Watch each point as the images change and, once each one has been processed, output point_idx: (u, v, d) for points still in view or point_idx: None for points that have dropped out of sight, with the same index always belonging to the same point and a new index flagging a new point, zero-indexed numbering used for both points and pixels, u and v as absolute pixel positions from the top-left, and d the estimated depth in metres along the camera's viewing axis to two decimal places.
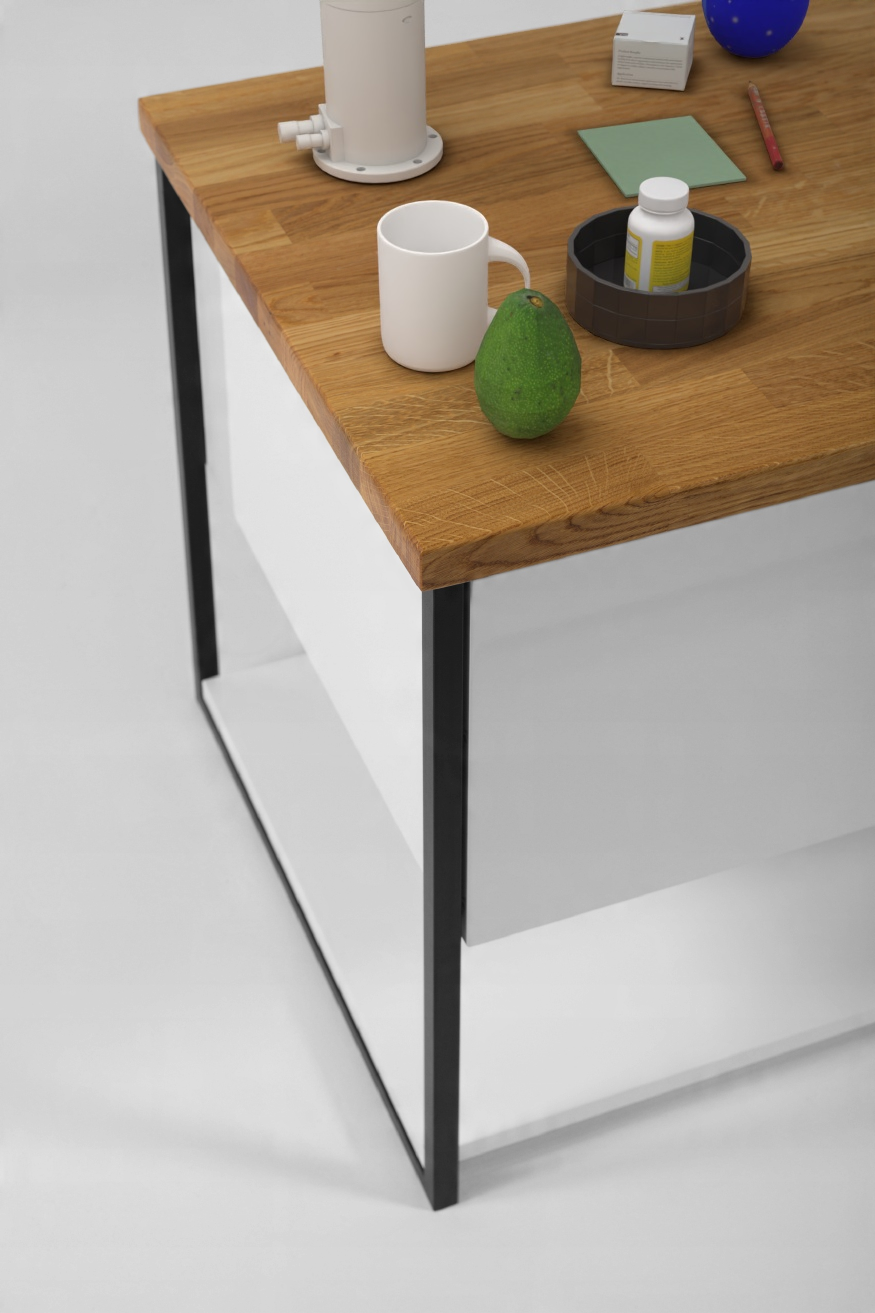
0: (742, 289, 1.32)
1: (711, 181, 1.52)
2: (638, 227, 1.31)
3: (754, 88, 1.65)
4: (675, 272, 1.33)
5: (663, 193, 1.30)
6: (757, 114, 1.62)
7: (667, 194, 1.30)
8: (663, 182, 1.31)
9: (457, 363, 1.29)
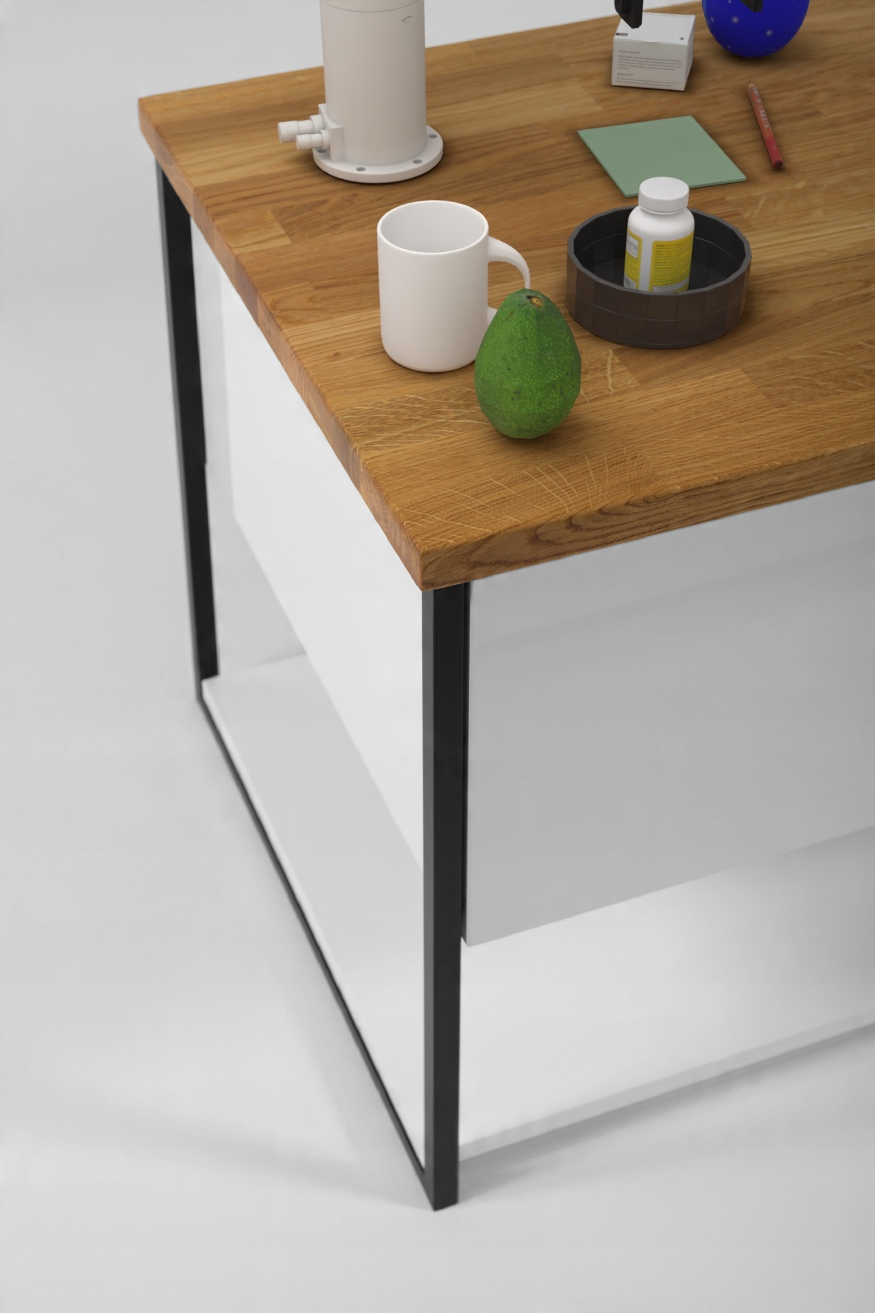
0: (742, 289, 1.32)
1: (711, 181, 1.52)
2: (638, 227, 1.31)
3: (754, 88, 1.65)
4: (675, 272, 1.33)
5: (663, 193, 1.30)
6: (757, 114, 1.62)
7: (667, 194, 1.30)
8: (663, 182, 1.31)
9: (457, 363, 1.29)
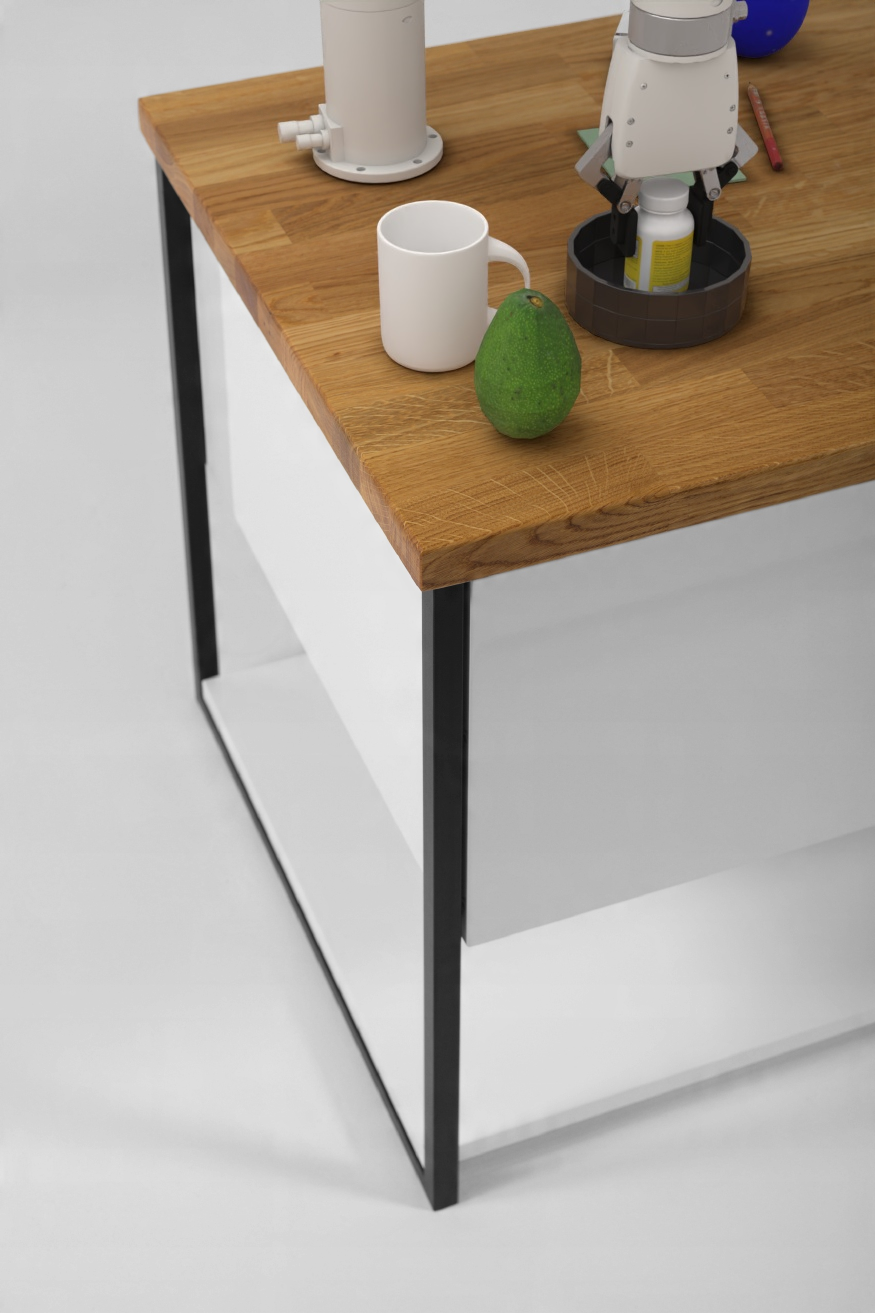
0: (742, 289, 1.32)
1: None
2: (638, 227, 1.31)
3: (754, 89, 1.65)
4: (675, 272, 1.33)
5: (663, 193, 1.30)
6: (757, 115, 1.62)
7: (667, 194, 1.30)
8: (663, 182, 1.31)
9: (457, 363, 1.29)
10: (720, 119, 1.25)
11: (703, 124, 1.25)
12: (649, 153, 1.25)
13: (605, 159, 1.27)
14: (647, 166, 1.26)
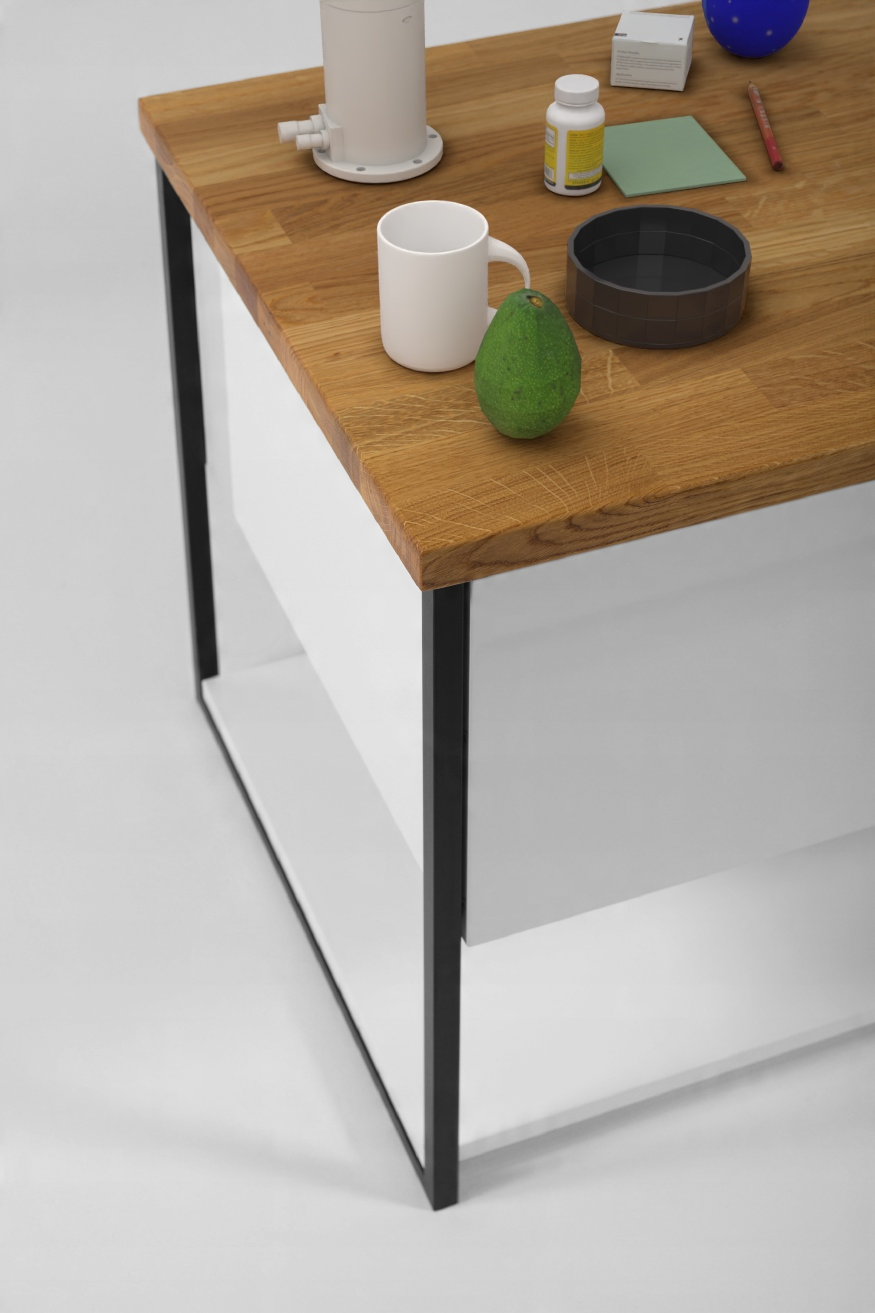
0: (742, 289, 1.32)
1: (711, 181, 1.52)
2: (554, 118, 1.47)
3: (754, 88, 1.65)
4: (588, 159, 1.49)
5: (575, 87, 1.46)
6: (757, 114, 1.62)
7: (579, 88, 1.46)
8: (577, 79, 1.47)
9: (457, 363, 1.29)
10: None
11: None
12: None
13: None
14: None
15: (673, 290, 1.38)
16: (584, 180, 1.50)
